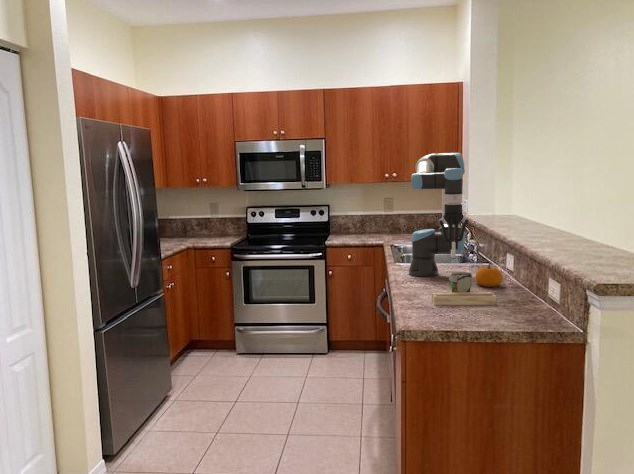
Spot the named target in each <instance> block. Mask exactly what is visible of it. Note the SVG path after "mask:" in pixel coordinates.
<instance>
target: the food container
mask: <svg viewBox="0 0 634 474" xmlns="http://www.w3.org/2000/svg"><path fill="white" fill-rule="evenodd" d="M472 278H473V275H472V272H464V271H463V272H452V273H450V275H449V278H448V280H449V281H450V285H451V286H450V289H451V293H466V292H471V286H472Z"/></svg>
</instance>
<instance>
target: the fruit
mask: <svg viewBox="0 0 634 474" xmlns="http://www.w3.org/2000/svg"><path fill="white" fill-rule="evenodd" d="M475 282H476V283H477V284H478V285H479V286H480V287H481V286H482V287H485V288H495V287H499V285H501V284H502V282H503V273H502V272H501V270H499V269H498V268H497V267H493V266H491V264H488V266H484V267H481V268H479V269H478V270H477V272H476V274H475Z"/></svg>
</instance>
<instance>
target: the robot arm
mask: <svg viewBox="0 0 634 474" xmlns="http://www.w3.org/2000/svg"><path fill="white" fill-rule="evenodd" d="M414 167H415V168H414V169H415V172H416V173H412V174H411V180H410V181H411V189H412V190H415V191H417V190H418V191H421V190H422V191H423V190H441V218H440V219H438V223H439V224H440V227H439V228H438V231H436V229H434V228H426V229H421V230H415V231H414V232H413V233H412V234H411V235H412V236H411V244H412V245H411V261H410V262H411V263H410V265H409V267H408V274H409V275H410V276H415V277H423V278H425V277H426V278H427V277H435V276H438V275H439V268H438V266H437V265H438V264H437V262H436V255H450V257H451V258H456V255H462V254H463V251H464V248H465V247H464V246H465V241H466V232H465V231H466V227H467V224H468V223H469V221H470V220H469V219H468V218H466V217H464V214H463V204H462V203H463V183H464V182H463V178H464V175H465V170H466V169H465V161H464V157H463V155H462V153H461V152H443V153H442V152H441V153H439V152H438V153H428V154H426V155H424V156H422V157H420V158H419V159H418V160H417V161H416V163H415V166H414ZM461 222H462V223H461ZM460 224H461V225H460Z"/></svg>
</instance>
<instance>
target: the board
mask: <svg viewBox="0 0 634 474" xmlns="http://www.w3.org/2000/svg"><path fill="white" fill-rule="evenodd" d="M431 302H432V303H433V305H434V306H452V305H453V306H458V305H459V306H465V305H466V306H467V305H468V306H469V305H470V306H473V305H477V306H478V305H479V306H480V305H481V306H483V305H490V306H491V305H493V306H495V305H496V304H497V296H496V295H495V294H494V293H493V292H492V291H490V292H489V291H488V292H486V291H485V292H484V291H483V292H482V291H479V292H473V291H472V292H471V291H470V292H466V293H452V292H432V293H431Z"/></svg>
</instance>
